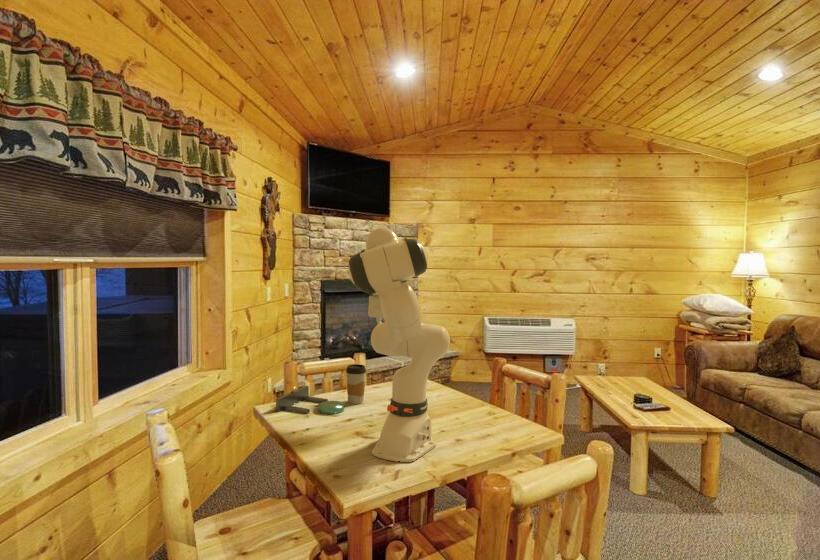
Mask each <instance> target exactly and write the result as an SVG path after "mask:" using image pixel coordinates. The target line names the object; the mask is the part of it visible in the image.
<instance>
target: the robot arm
mask: <svg viewBox="0 0 820 560" xmlns="http://www.w3.org/2000/svg"><path fill="white" fill-rule="evenodd" d="M428 257H429V256H428V252H427V250H426V248H425V247H424V246H423V244H422V243H421V242H420V241H419V240H417V239H415V238H407V237H404V239H401V240H400V238H399V236H398V235H397V234H396V233H395V231H393V230H392V229H390V228H388V227H377V228H375V229H373V230H371V232H370V233H369V234H368V235H367V238H366V243H365V248H363V249H362V250H361V251H360V252H358V253H356V254H354V255H352V256H351V257H349V260H348V269H347V271H348V276H349V279H350V281H351V283H352V284H353V285H354V286H355V288H356V289H357V290H359V291H361V292H363V293H365V294H369V296H368V308H367V315H368V317H369V318H376V319H375V320H376V323H377V324H376V326H375V327H374V328H373V330H372V331H371V335H370V343H371V344H370V345H371V347H372V349H373V350H374V351H375V353H377V354H381V355H385V356H389V357H401V358H402V357H404V358H411V362H410V363H409V364H408V365H405V366H403V367H401V368H399V369H397V370H396V371H395V372H394V373H393V376H392V382H391V383H392V389H391V390H392V392H391V396H392V397H391V399H390V403H389V404H388V405H387V406H386V411H387V412H388V414H387V416H386V419H385V422H384V423H383V426H382V429H381V431H380V434H379V435H380V437H379V439H378V440H377V442H376V443H375V445H374V447H373V449H372V450H371V455H373V456H374V457H376V458H379V459H382V460H386V461H392V462H398V461H400V462H399V463H413V462H415V461H417V460H418V459H420V458H421V457H423V455H425V454H427V453H428V452H429V451H431V450H432V449H434V448H436V446H437V442H436V441H435V440H433V431H432V427H433V426H432V419H431V417H430V416H429V415H428V412H427V411H428V406H429V404H428V399H427V386H428V385H427V384H428V377H429V374H430V371H431V370H432V367H433V366H434V365H435V363H436V362H437V361H439V359H441V358H443V357H444V356H445V355H446V353H448V351H449V349H450V346H451V337H450V333H449V331H448V330H447V328H446V327H445V326H443V325H438V324H433V323H424V318H423V313H422V309H421V305H420V301H419V299H418V295H417V294H416V293H415V291H414V290H413V288H412V287H411V286H410V285H409V284H407V282H408V280H409V279H411V278H413V277H416V278H417V277H419V276H421V275H423V274H424V273H426V271H427V269H428V262H429V261H428ZM382 320H384V321H383V322H382ZM419 457H420V458H419ZM416 459H417V460H416ZM412 461H413V462H412Z"/></svg>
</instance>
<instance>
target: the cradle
mask: <svg viewBox="0 0 820 560" xmlns="http://www.w3.org/2000/svg"><path fill="white" fill-rule="evenodd" d="M309 387H310V386H309V385H304V386H302V387H299V388H297V389H296V386H291V387H290V392H288V393H286V394H283V395H282V396H279V397H276V398H275V411H276V412H277V413H280V412H282V411H286V410H288V412H292V411H295V412H294V413H298V412H299V413H300V414H306V415H308V414H309V413H310V408H308V407H307V408H305V407H300V406H299V407H298V406H295V405H293V404H294V403H297V402H299V401H301V400H303V401H304V400H307V401H306V402H311V401H314V402H313V403H318V402H319V403H321V402H325V401H329V398H323V397H315V396H309V393H310V392H309V390H310V389H309ZM301 402H302V401H301ZM299 403H300V402H299ZM297 404H298V403H297ZM291 405H293V406H291Z"/></svg>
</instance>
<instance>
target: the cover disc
mask: <svg viewBox="0 0 820 560" xmlns="http://www.w3.org/2000/svg"><path fill="white" fill-rule="evenodd" d="M317 407H318V408H317V412H318V413H320V414H322V415H326V416H327V415H330V416H331V415H332V416H333V415H339V414H341V413H343V412H345V403H344V402H342V401H340V400H339V401H338V400H328V401H325V402H321V403H319V404H318V405H317Z"/></svg>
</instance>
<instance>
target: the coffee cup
mask: <svg viewBox="0 0 820 560" xmlns="http://www.w3.org/2000/svg"><path fill="white" fill-rule="evenodd" d="M345 372H346V391H347V401H348V403H349V404H350V405H351V404H352V405H360V404H363V403H364V399H365V388H366V372H367V368H366V365H365V364H361V363H360V364H357V363H356V364H354V363H353V364H348V365H347V368H346V370H345Z"/></svg>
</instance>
